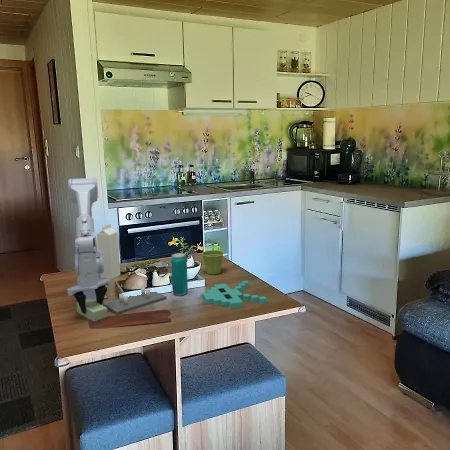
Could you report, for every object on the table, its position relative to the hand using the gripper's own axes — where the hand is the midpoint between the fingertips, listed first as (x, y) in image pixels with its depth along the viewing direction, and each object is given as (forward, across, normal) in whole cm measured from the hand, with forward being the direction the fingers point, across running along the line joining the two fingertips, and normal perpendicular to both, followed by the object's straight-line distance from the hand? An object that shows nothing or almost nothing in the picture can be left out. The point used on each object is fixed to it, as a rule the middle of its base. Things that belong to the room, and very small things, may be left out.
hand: (91, 310), depth 152 cm
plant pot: (+2, +58, +5) cm, 58 cm away
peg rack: (+2, +16, -1) cm, 16 cm away
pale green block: (+2, 0, 0) cm, 2 cm away
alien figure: (+2, +44, -21) cm, 49 cm away
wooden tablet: (+2, +7, -12) cm, 15 cm away
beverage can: (+2, +33, -5) cm, 33 cm away
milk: (+2, +24, +32) cm, 40 cm away
